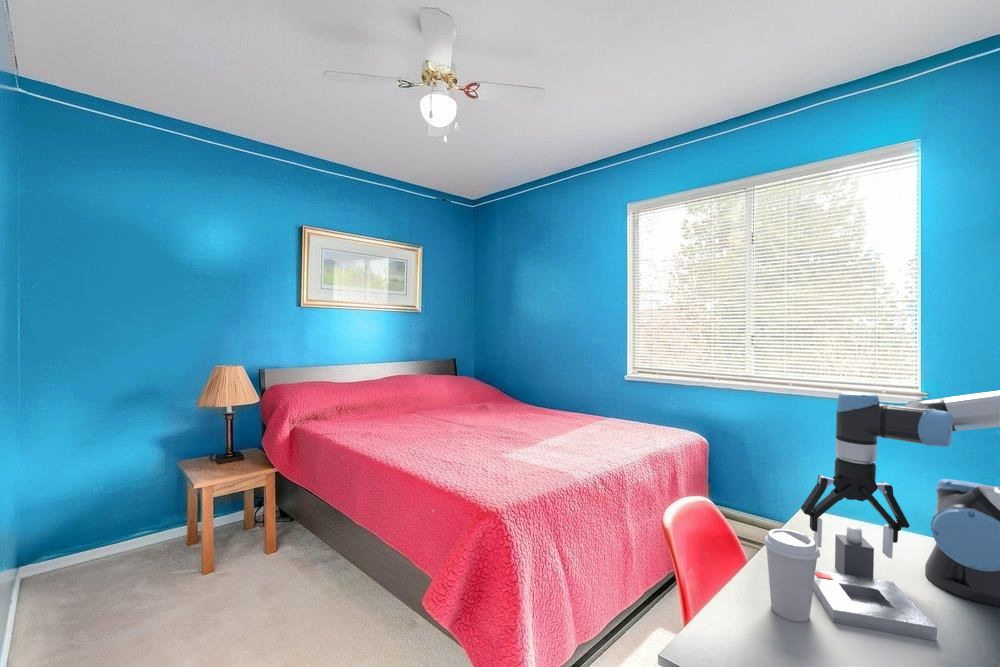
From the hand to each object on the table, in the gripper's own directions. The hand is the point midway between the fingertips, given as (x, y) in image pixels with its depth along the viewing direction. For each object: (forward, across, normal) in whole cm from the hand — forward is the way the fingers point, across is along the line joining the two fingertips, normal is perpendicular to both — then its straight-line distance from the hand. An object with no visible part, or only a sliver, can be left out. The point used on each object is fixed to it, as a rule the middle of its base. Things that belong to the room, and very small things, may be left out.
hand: (851, 550), depth 106 cm
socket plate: (+6, +2, +14) cm, 15 cm away
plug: (+6, 0, 0) cm, 6 cm away
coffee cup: (+6, +18, +21) cm, 28 cm away
